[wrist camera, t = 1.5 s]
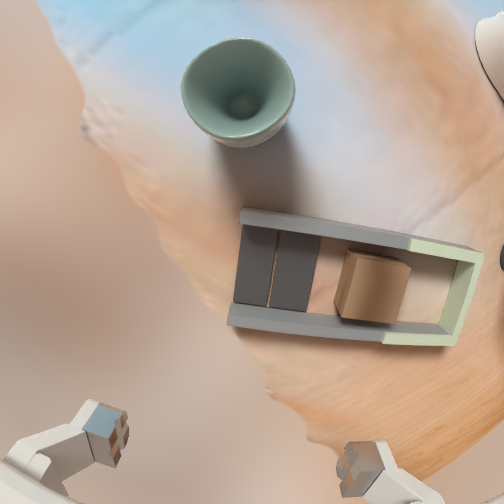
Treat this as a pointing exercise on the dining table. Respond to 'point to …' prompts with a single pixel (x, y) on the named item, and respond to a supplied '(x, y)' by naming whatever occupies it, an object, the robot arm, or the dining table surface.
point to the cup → (238, 91)
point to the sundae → (502, 258)
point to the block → (371, 286)
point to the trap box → (301, 274)
